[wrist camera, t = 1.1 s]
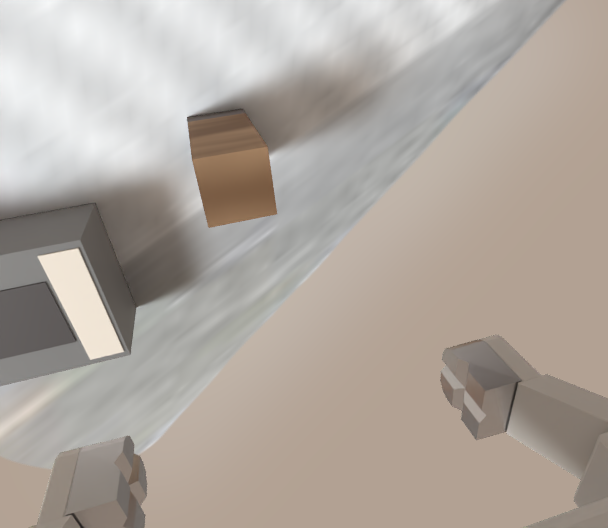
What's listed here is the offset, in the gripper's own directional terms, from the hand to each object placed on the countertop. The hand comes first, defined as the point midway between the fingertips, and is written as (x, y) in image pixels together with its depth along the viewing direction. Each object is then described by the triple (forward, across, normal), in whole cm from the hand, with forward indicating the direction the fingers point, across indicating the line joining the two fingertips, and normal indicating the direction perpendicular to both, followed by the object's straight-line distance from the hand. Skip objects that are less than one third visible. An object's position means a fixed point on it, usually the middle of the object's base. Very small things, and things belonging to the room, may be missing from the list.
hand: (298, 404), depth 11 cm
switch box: (+25, +18, +7) cm, 32 cm away
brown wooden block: (+25, 0, -1) cm, 25 cm away
